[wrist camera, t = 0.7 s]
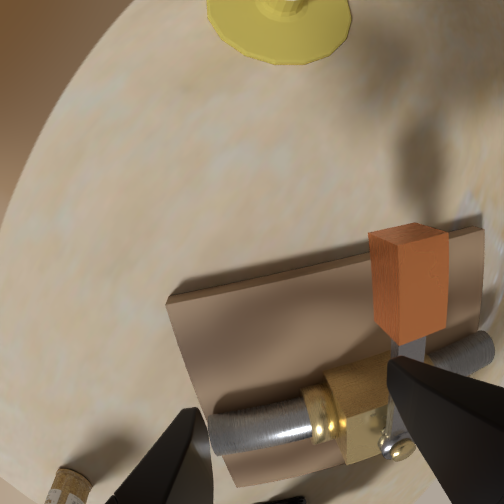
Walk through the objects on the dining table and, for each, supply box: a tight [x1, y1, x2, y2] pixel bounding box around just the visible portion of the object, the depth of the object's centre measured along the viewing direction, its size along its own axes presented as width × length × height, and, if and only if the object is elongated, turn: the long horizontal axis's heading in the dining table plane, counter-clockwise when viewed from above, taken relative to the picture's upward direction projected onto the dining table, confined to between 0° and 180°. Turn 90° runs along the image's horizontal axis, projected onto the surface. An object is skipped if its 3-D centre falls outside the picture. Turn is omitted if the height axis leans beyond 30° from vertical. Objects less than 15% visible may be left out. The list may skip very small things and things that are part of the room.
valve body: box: [208, 331, 495, 465], centre depth 19 cm, size 5×23×6 cm, turn 101°
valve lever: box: [368, 223, 449, 462], centre depth 14 cm, size 14×3×3 cm, turn 11°
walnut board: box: [166, 226, 485, 488], centre depth 22 cm, size 20×24×2 cm
